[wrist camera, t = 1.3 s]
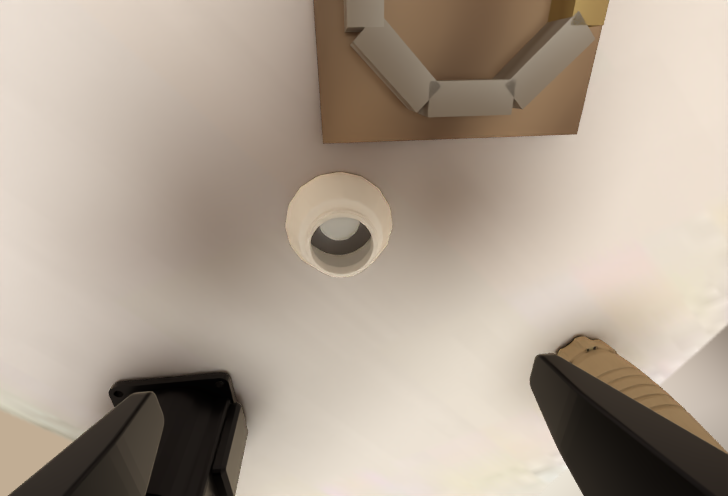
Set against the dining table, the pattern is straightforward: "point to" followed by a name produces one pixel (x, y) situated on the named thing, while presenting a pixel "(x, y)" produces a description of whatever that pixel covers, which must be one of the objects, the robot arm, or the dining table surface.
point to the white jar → (338, 221)
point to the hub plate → (454, 67)
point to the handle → (630, 382)
